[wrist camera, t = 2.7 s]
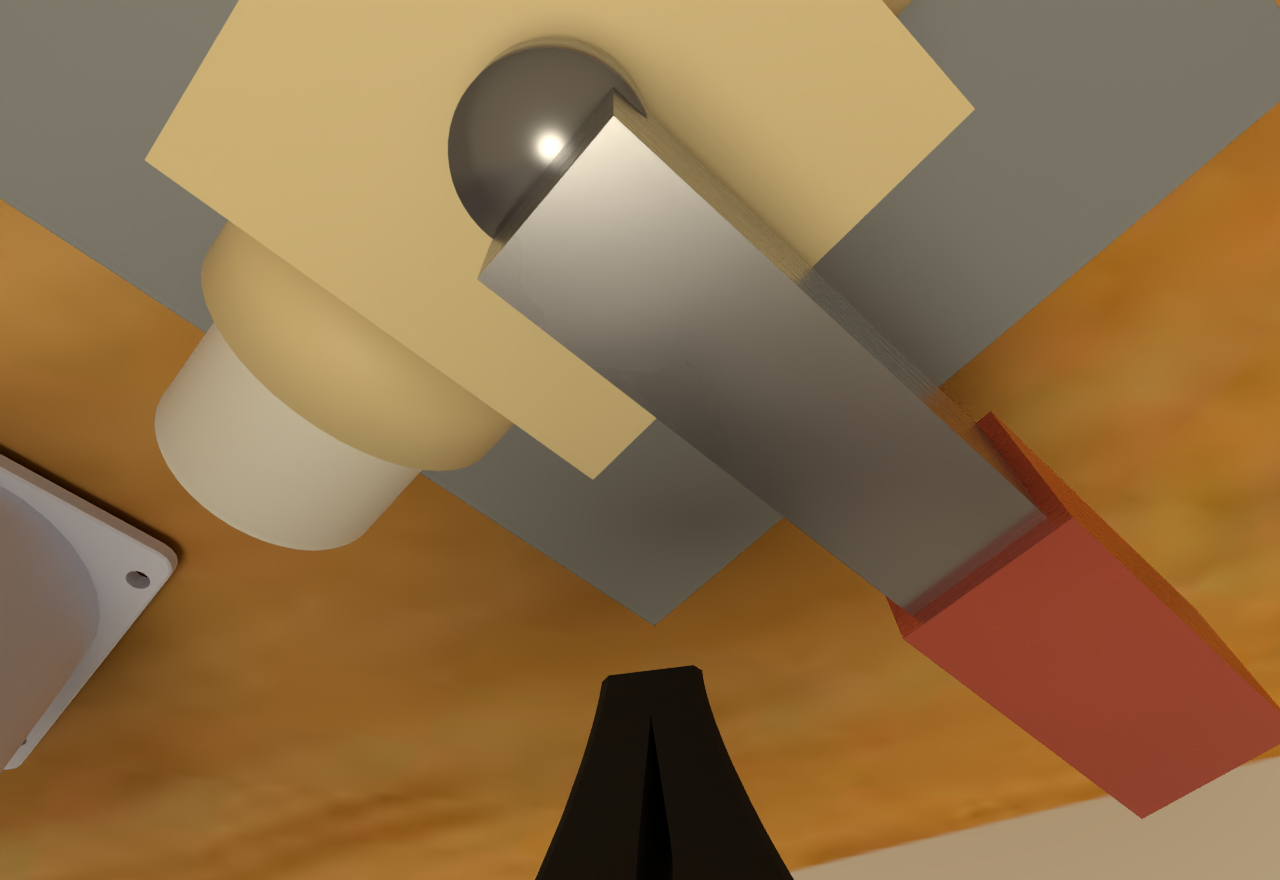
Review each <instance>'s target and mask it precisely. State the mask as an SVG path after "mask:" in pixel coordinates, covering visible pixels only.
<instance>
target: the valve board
mask: <svg viewBox="0 0 1280 880" xmlns="http://www.w3.org/2000/svg"><path fill="white" fill-rule="evenodd" d="M541 37H564V38H571V39H575V40H579V41H582V42H585V43H588V44H590V45H592V46H594V47H596V48H598V49H600V50H602V51H603V52H605V53H606V54H608V55H609V56H611V57H612V58H613V59H614V60H615V61H617V62H618V63H619V64H620V65H621V66H622V67H623V68H624V69H625V70H626V71H627V73H628V74H629V75H630V76H631V78H632V79H633V81H634V82H635V84H636V85H637V87H638V89H639V91H640V92H641V94H642V96H643V99H644V101H645V104H646V107H647V109H648V113H649V114H650V115H651V116H652V117H653V118H654V119H655V120H656V121H657V122H658V123H660V124H661V125H662V126H663V127H664V128H665V129H666V130H667V131H668V132H669V133H670V134H671V135H672V136H673V137H674V138H675V139H676V140H677V141H679V142H680V143H681V144H682V145H683V146H684V147H685V148H686V149H687V150H688V151H689V152H690V153H691V154H692V155H693V156H694V157H695V158H696V159H698V160H699V161H700V162H701V163H702V164H703V165H704V166H705V167H706V168H707V169H708V170H709V171H710V172H711V173H712V174H713V175H714V176H716V177H717V178H718V179H719V180H720V181H721V182H722V183H723V184H724V185H725V186H726V187H727V188H728V189H729V190H730V191H731V192H732V193H733V194H735V195H736V196H737V197H738V198H739V199H740V200H741V201H742V202H743V203H744V204H745V205H746V206H747V207H748V208H749V209H750V210H751V211H752V212H754V213H755V214H756V215H757V216H758V217H759V218H760V219H761V220H762V221H763V222H764V223H765V224H766V225H767V226H768V227H769V228H770V229H771V230H773V231H774V232H775V233H776V234H777V235H778V236H779V237H780V238H781V239H782V240H783V241H784V242H785V243H786V244H787V245H788V246H789V247H791V248H792V249H793V250H794V251H795V252H796V253H797V254H798V255H799V256H800V257H801V258H802V259H803V260H804V261H805V262H806V263H807V264H808V265H810V266H811V267H812V268H813V269H814V270H815V271H816V272H817V273H818V274H819V275H820V276H821V277H822V278H823V279H824V280H825V281H826V282H827V283H829V284H830V285H831V286H832V287H833V288H834V289H835V290H836V291H837V292H838V293H839V294H840V295H841V296H842V297H843V298H844V299H845V300H846V301H848V302H849V303H850V304H851V305H852V306H853V307H854V308H855V309H856V310H857V311H858V312H859V313H860V314H861V315H862V316H863V317H864V318H866V319H867V320H868V321H869V322H870V323H871V324H872V325H873V326H874V327H875V328H876V329H877V330H878V331H879V332H880V333H881V334H882V335H883V336H885V337H886V338H887V339H888V340H889V341H890V342H891V343H892V344H893V345H894V346H895V347H896V348H897V349H898V350H899V351H900V352H901V353H902V354H904V355H905V356H906V357H907V358H908V359H909V360H910V361H911V362H912V363H913V364H914V365H915V366H916V367H917V368H918V369H919V370H920V371H921V372H923V373H924V374H925V375H926V376H927V377H928V378H929V379H930V380H931V381H932V382H933V383H934V384H935V385H936V386H937V387H940V386H941V385H942V384H943V383H944V382H946V381H947V380H948V379H949V378H950V377H952V376H953V375H954V374H955V373H956V372H958V371H959V370H960V369H961V368H962V367H963V366H965V365H966V364H967V363H968V362H969V361H971V360H972V359H973V358H974V357H975V356H977V355H978V354H979V353H980V352H981V351H983V350H984V349H985V348H986V347H987V346H989V345H990V344H991V343H992V342H993V341H994V340H996V339H997V338H998V337H999V336H1000V335H1002V334H1003V333H1004V332H1005V331H1006V330H1008V329H1009V328H1010V327H1011V326H1012V325H1014V324H1015V323H1016V322H1017V321H1018V320H1020V319H1021V318H1022V317H1023V316H1024V315H1025V314H1027V313H1028V312H1029V311H1030V310H1031V309H1033V308H1034V307H1035V306H1036V305H1037V304H1039V303H1040V302H1041V301H1042V300H1043V299H1045V298H1046V297H1047V296H1048V295H1049V294H1051V293H1052V292H1053V291H1054V290H1055V289H1057V288H1058V287H1059V286H1060V285H1061V284H1062V283H1064V282H1065V281H1066V280H1067V279H1068V278H1070V277H1071V276H1072V275H1073V274H1074V273H1076V272H1077V271H1078V270H1079V269H1080V268H1082V267H1083V266H1084V265H1085V264H1086V263H1088V262H1089V261H1090V260H1091V259H1092V258H1093V257H1095V256H1096V255H1097V254H1098V253H1099V252H1101V251H1102V250H1103V249H1104V248H1105V247H1107V246H1108V245H1109V244H1110V243H1111V242H1113V241H1114V240H1115V239H1116V238H1117V237H1119V236H1120V235H1121V234H1122V233H1123V232H1124V231H1126V230H1127V229H1128V228H1129V227H1130V226H1132V225H1133V224H1134V223H1135V222H1136V221H1138V220H1139V219H1140V218H1141V217H1142V216H1144V215H1145V214H1146V213H1147V212H1148V211H1150V210H1151V209H1152V208H1153V207H1154V206H1155V205H1157V204H1158V203H1159V202H1160V201H1161V200H1163V199H1164V198H1165V197H1166V196H1167V195H1169V194H1170V193H1171V192H1172V191H1173V190H1175V189H1176V188H1177V187H1178V186H1179V185H1181V184H1182V183H1183V182H1184V181H1185V180H1187V179H1188V178H1189V177H1190V176H1191V175H1192V174H1194V173H1195V172H1196V171H1197V170H1198V169H1200V168H1201V167H1202V166H1203V165H1204V164H1206V163H1207V162H1208V161H1209V160H1210V159H1212V158H1213V157H1214V156H1215V155H1216V154H1218V153H1219V152H1220V151H1221V150H1222V149H1223V148H1225V147H1226V146H1227V145H1228V144H1229V143H1231V142H1232V141H1233V140H1234V139H1235V138H1237V137H1238V136H1239V135H1240V134H1241V133H1243V132H1244V131H1245V130H1246V129H1247V128H1249V127H1250V126H1251V125H1252V124H1253V123H1254V122H1256V121H1257V120H1258V119H1259V118H1260V117H1262V116H1263V115H1264V114H1265V113H1266V112H1268V111H1269V110H1270V109H1271V108H1272V107H1274V106H1275V105H1276V104H1277V103H1278V102H1280V8H1279V7H1278V5H1277V4H1276V2H1275V1H1274V0H0V199H2V200H3V201H5V202H6V203H8V204H9V205H11V206H12V207H14V208H15V209H17V210H18V211H20V212H22V213H23V214H25V215H26V216H28V217H29V218H31V219H32V220H34V221H35V222H37V223H38V224H40V225H41V226H43V227H44V228H46V229H48V230H49V231H51V232H52V233H54V234H55V235H57V236H58V237H60V238H61V239H63V240H64V241H66V242H67V243H69V244H71V245H72V246H74V247H75V248H77V249H78V250H80V251H81V252H83V253H84V254H86V255H87V256H89V257H90V258H92V259H93V260H95V261H97V262H98V263H100V264H101V265H103V266H104V267H106V268H107V269H109V270H110V271H112V272H113V273H115V274H116V275H118V276H119V277H121V278H123V279H124V280H126V281H127V282H129V283H130V284H132V285H133V286H135V287H136V288H138V289H139V290H141V291H142V292H144V293H146V294H147V295H149V296H150V297H152V298H153V299H155V300H156V301H158V302H159V303H161V304H162V305H164V306H165V307H167V308H168V309H170V310H172V311H173V312H175V313H176V314H178V315H179V316H181V317H182V318H184V319H185V320H187V321H188V322H190V323H191V324H193V325H194V326H196V327H198V328H199V329H201V330H202V331H204V332H205V333H206V334H205V335H204V337H203V338H202V340H201V341H200V342H199V344H198V345H197V347H196V348H195V350H194V351H193V353H192V354H191V355H190V357H189V358H188V360H187V361H186V363H185V364H184V365H183V367H182V368H181V370H180V371H179V373H178V374H177V376H176V377H175V378H174V380H173V381H172V383H171V384H170V386H169V387H168V389H167V390H166V391H165V393H164V394H163V396H162V397H161V399H160V401H159V404H158V406H157V409H156V414H155V433H156V438H157V443H158V445H159V448H160V451H161V453H162V456H163V458H164V460H165V461H166V463H167V465H168V467H169V469H170V470H171V472H172V473H173V474H174V476H175V477H176V479H177V480H178V481H179V483H180V484H181V485H182V486H183V487H184V488H185V489H186V490H187V492H188V493H189V494H190V495H191V496H192V497H193V498H194V499H196V500H197V501H198V502H199V503H200V504H201V505H202V506H203V507H205V508H206V509H207V510H208V511H210V512H211V513H212V514H214V515H215V516H216V517H218V518H219V519H221V520H222V521H224V522H226V523H227V524H229V525H230V526H232V527H234V528H236V529H238V530H240V531H242V532H244V533H246V534H247V535H250V536H252V537H255V538H257V539H260V540H262V541H265V542H268V543H271V544H275V545H278V546H282V547H287V548H292V549H298V550H310V551H312V550H328V549H334V548H338V547H341V546H344V545H347V544H349V543H351V542H353V541H355V540H357V539H358V538H359V537H361V536H362V535H363V534H364V533H365V532H366V531H367V530H368V529H369V528H370V527H371V526H372V525H373V524H374V522H375V521H376V520H377V519H378V518H379V517H380V516H381V515H382V514H383V513H384V511H385V510H386V509H387V508H388V507H389V506H390V505H391V504H392V503H393V501H394V500H395V499H396V498H397V497H398V496H399V495H400V494H401V493H402V492H403V490H404V489H405V488H406V487H407V486H408V485H409V484H410V483H411V482H412V481H413V479H414V478H415V477H416V476H417V475H418V474H419V473H421V474H423V475H424V476H426V477H427V478H429V479H430V480H432V481H433V482H435V483H436V484H438V485H439V486H441V487H442V488H444V489H445V490H447V491H449V492H450V493H452V494H453V495H455V496H456V497H458V498H459V499H461V500H462V501H464V502H465V503H467V504H468V505H470V506H472V507H473V508H475V509H476V510H478V511H479V512H481V513H482V514H484V515H485V516H487V517H488V518H490V519H491V520H493V521H494V522H496V523H498V524H499V525H501V526H502V527H504V528H505V529H507V530H508V531H510V532H511V533H513V534H514V535H516V536H517V537H519V538H520V539H522V540H524V541H525V542H527V543H528V544H530V545H531V546H533V547H534V548H536V549H537V550H539V551H540V552H542V553H543V554H545V555H546V556H548V557H550V558H551V559H553V560H554V561H556V562H557V563H559V564H560V565H562V566H563V567H565V568H566V569H568V570H569V571H571V572H573V573H574V574H576V575H577V576H579V577H580V578H582V579H583V580H585V581H586V582H588V583H589V584H591V585H592V586H594V587H595V588H597V589H599V590H600V591H602V592H603V593H605V594H606V595H608V596H609V597H611V598H612V599H614V600H615V601H617V602H618V603H620V604H621V605H623V606H625V607H626V608H628V609H629V610H631V611H632V612H634V613H635V614H637V615H638V616H640V617H641V618H643V619H644V620H646V621H648V622H649V623H651V624H652V625H654V626H655V625H656V624H657V623H658V622H659V621H661V620H662V619H663V618H664V617H665V616H667V615H668V614H669V613H670V612H671V611H672V610H674V609H675V608H676V607H677V606H678V605H680V604H681V603H682V602H683V601H684V600H686V599H687V598H688V597H689V596H690V595H692V594H693V593H694V592H695V591H696V590H698V589H699V588H700V587H701V586H702V585H703V584H705V583H706V582H707V581H708V580H709V579H711V578H712V577H713V576H714V575H715V574H717V573H718V572H719V571H720V570H721V569H723V568H724V567H725V566H726V565H727V564H729V563H730V562H731V561H732V560H733V559H734V558H736V557H737V556H738V555H739V554H740V553H742V552H743V551H744V550H745V549H746V548H748V547H749V546H750V545H751V544H752V543H754V542H755V541H756V540H757V539H758V538H760V537H761V536H762V535H763V534H764V533H765V532H767V531H768V530H769V529H770V528H771V527H773V526H774V525H775V524H776V523H777V522H779V521H780V520H781V519H782V518H783V516H782V515H781V514H780V513H778V512H777V511H776V510H774V509H773V508H772V507H771V506H769V505H768V504H767V503H765V502H764V501H763V500H761V499H760V498H759V497H758V496H756V495H755V494H754V493H752V492H751V491H750V490H749V489H747V488H746V487H745V486H743V485H742V484H741V483H740V482H738V481H737V480H736V479H734V478H733V477H732V476H730V475H729V474H728V473H727V472H725V471H724V470H723V469H721V468H720V467H719V466H718V465H716V464H715V463H714V462H712V461H711V460H710V459H709V458H707V457H706V456H705V455H703V454H702V453H701V452H699V451H698V450H697V449H696V448H694V447H693V446H692V445H690V444H689V443H688V442H687V441H685V440H684V439H683V438H681V437H680V436H679V435H678V434H676V433H675V432H674V431H672V430H671V429H670V428H668V427H667V426H666V425H665V424H663V423H662V422H661V421H659V420H658V419H657V418H656V417H654V416H653V415H652V414H650V413H649V412H648V411H647V410H645V409H644V408H643V407H641V406H640V405H639V404H637V403H636V402H635V401H634V400H632V399H631V398H630V397H628V396H627V395H626V394H625V393H623V392H622V391H621V390H619V389H618V388H617V387H616V386H614V385H613V384H612V383H610V382H609V381H608V380H607V379H605V378H604V377H603V376H601V375H600V374H599V373H597V372H596V371H595V370H594V369H592V368H591V367H590V366H588V365H587V364H586V363H585V362H583V361H582V360H581V359H579V358H578V357H577V356H576V355H574V354H573V353H572V352H570V351H569V350H568V349H566V348H565V347H564V346H563V345H561V344H560V343H559V342H557V341H556V340H555V339H554V338H552V337H551V336H550V335H548V334H547V333H546V332H545V331H543V330H542V329H541V328H539V327H538V326H537V325H535V324H534V323H533V322H532V321H530V320H529V319H528V318H526V317H525V316H524V315H523V314H521V313H520V312H519V311H517V310H516V309H515V308H514V307H512V306H511V305H510V304H508V303H507V302H506V301H504V300H503V299H502V298H501V297H499V296H498V295H497V294H495V293H494V292H493V291H492V290H490V289H489V288H488V287H486V286H485V285H484V284H483V283H481V282H480V281H479V280H477V278H478V275H479V273H480V270H481V267H482V265H483V262H484V259H485V257H486V254H487V252H488V249H489V246H490V244H491V241H492V238H491V237H490V236H488V235H487V234H486V233H485V232H484V231H483V230H482V229H481V228H480V227H479V226H478V225H477V224H476V223H475V222H474V220H473V219H472V218H471V217H470V215H469V214H468V212H467V211H466V209H465V208H464V206H463V205H462V203H461V201H460V199H459V197H458V195H457V192H456V190H455V187H454V184H453V182H452V178H451V173H450V169H449V161H448V137H449V130H450V125H451V121H452V118H453V115H454V112H455V109H456V107H457V105H458V103H459V101H460V99H461V97H462V96H463V94H464V92H465V91H466V89H467V88H468V86H469V85H470V84H471V83H472V82H473V81H474V80H475V78H476V77H477V76H478V75H479V74H480V73H481V72H482V70H483V69H484V68H485V67H486V66H487V65H488V64H489V63H490V62H491V61H492V60H493V59H494V58H495V57H496V56H498V55H499V54H500V53H502V52H503V51H505V50H507V49H508V48H510V47H512V46H514V45H516V44H518V43H521V42H524V41H527V40H531V39H534V38H541Z"/></svg>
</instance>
